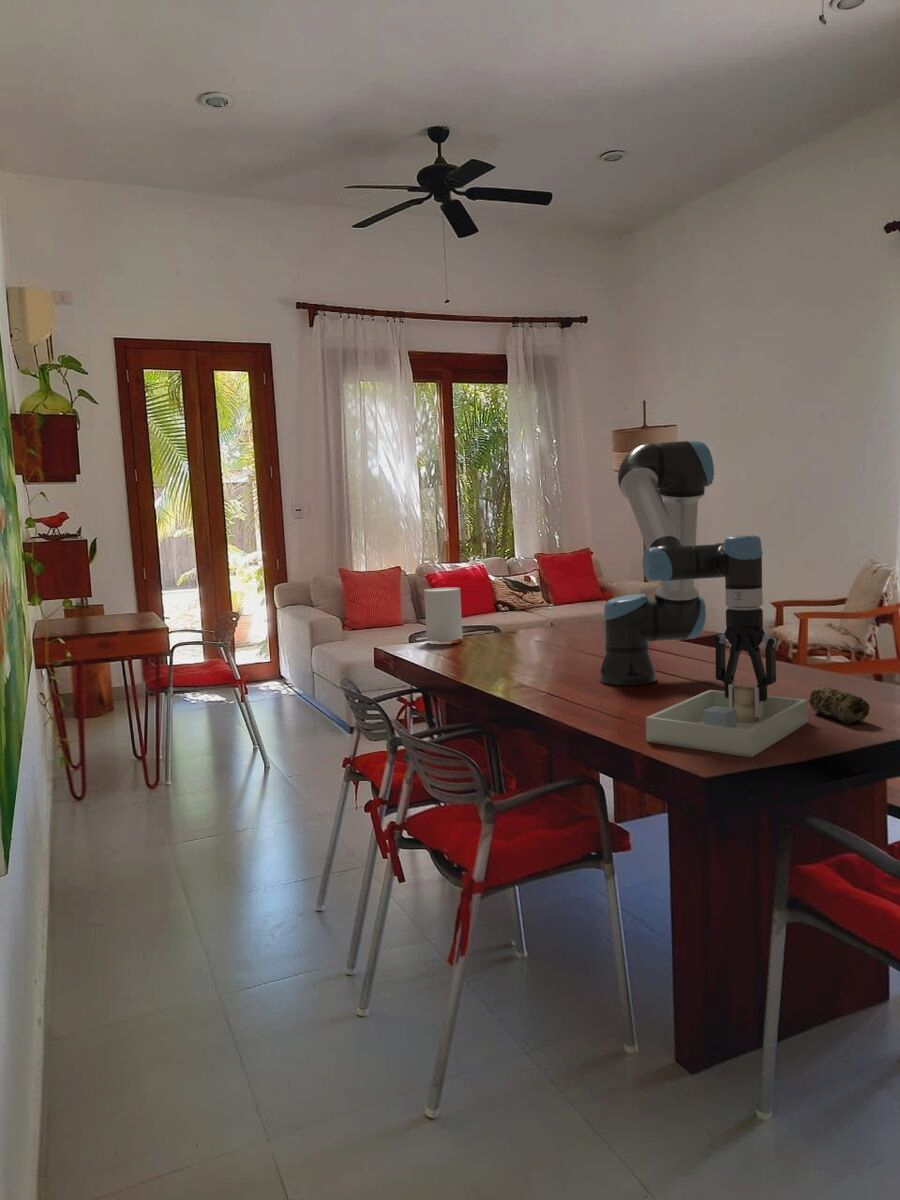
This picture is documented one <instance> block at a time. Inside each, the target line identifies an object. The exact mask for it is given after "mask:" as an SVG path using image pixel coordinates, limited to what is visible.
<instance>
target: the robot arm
mask: <svg viewBox="0 0 900 1200" xmlns="http://www.w3.org/2000/svg"><path fill="white" fill-rule="evenodd" d="M714 469H715V467H714V461H713V456H712V453H711V451H710V449H709V447H708V445H706V444H705V443H704V442H702V441H695V440H694V441H693V440H683V441H669V442H668V441H667V442H656V443H655V442H654V443H653V442H647V443H644V444H640V445H638V446H636V447H635V448H633V449H632V450H630V452H628V454H627V455H626V456H624V457H623V460H622V462H621V463H620V466H619V469H618V473H617V474H618V475H617V483H618V487H619V489H620V492H621V494H622V495H623V497H624V498H626V499H628V501H629V505H630V507H631V509H632V512H633V515H634V517H635V520H636V522H637V525H638V528H639V531H640V533H641V536H642V539H643V542H644V545H645V546H646V549H645V550H644V552H643V554H642V567H643V574H644V577H645V579H647V580H648V581H652V582H653V581H656V582H657V581H658V582H660V585H659V586H658V587H657V588H656V589H655V591H654V598H648V596H647V595H646V594H644V593H638V594H628V595H627V594H626V595H622V596H621V595H620V596H617V597H614V598H610V599H608V600H607V601H606V602H605V604H604V606H603V607H604V609H603V610H604V611H603V620H604V623H603V624H604V647H605V651H604V652H605V653H604V657H603V660H602V664H601V668H600V670H599V680H600V682H601V683H602V684H606V685H610V686H611V685H613V686H641V685H647V684H652V683H655V682H656V680H657V675H656V673H657V672H656V669H655V667H654V663H653V660H652V658H651V656H650V651H649V642H661V641H663V642H666V641H686V640H690V639H695V638H697V637H699V636H700V634H701V635H702V632H703V630H704V627H705V623H706V619H707V618H706V617H707V611H706V608H707V607H706V602H705V600H704V598H703V597H702V596H700V591H698V590H697V588H695V586H694V583H695V582H694V581H695V580H699V579H701V580H703V579H719V578H724V580H725V581H724V582H725V583H724V584H725V586H724V587H725V606H726V607H727V608H726V610H725V626H726V628H725V631H724V633H722V634H721V633H719V634H716V635H713V636H712V640H713V643H714V646H715V679H716V680H717V681H720V682H722V683H724V691H725V697H726V698H729V708H734V690H733V688H734V687H738V682H735V676H736V675H735V674H736V671H737V667H738V664H739V663H738V662H739V660H740V655H741V654H742V652H743V651H745V652H747V653H748V656H749V657H750V660H751V664H752V667H753V668H752V669H753V672H754V676H755V678H756V683H757V684H756V686H753V687H754V690H755V717H760V716H762V715H763V702H764V701H766V700H767V696H768V686H770V685H772V684H775V683H776V682H777V664H776V660H777V659H776V658H777V657H776V647H777V644H778V642H779V639H778V637H776V636H775V637H771V636H770V635H769V636H768V635H766V633H765V630H764V612H763V611H764V610H763V609H762V608H761V607H762V606H763V603H764V602H763V600H764V599H763V550H762V549H763V548H762V547H763V546H762V539H761V537H760V536H759V535H754V534H753V535H732V536H727V537H726V538H725V539H724V542H722V543H721V542H719V543H715V544H700V545H699V544H698V545H697V528H698V527H697V524H698V510H699V509H698V508H699V507H698V506H699V501H700V499H701V498H703V496H705V489H706V488H705V487H709V486H711V485H712V484H713V481H714V478H715V470H714ZM726 642H728V643H729V644H730V648H729V649H730V650H729V657H728V660H727V665H726ZM762 642H763V644H764V647H765V648H764V650H765V651H764V653H765V654H764V655H765V666H764V663H763V659H762V656H761V649H760V648H761V647H760V645H761V643H762Z"/></svg>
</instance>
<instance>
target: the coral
mask: <svg viewBox="0 0 900 1200" xmlns="http://www.w3.org/2000/svg"><path fill="white" fill-rule="evenodd" d="M807 702H808V703H809V706H810V707H811V709H812V710H813V711H814V712H816V713H818V714H822V715H825V716H826V717H829V718H831V719H835V720H838V721H840V722H843V723H845V724H848V725H850V723H851V724H853V723H852V722H854V723H856V724H857V723H859V722H861V721H863V720H865V719H866V718H867V717H868V716H869V714H870V709H871V706H870V704H869V703H868V702H867V700H864V698H863V697H860V696H857V695H855V694H851V693H849V692H844V691H842V690H838V689H836V688H832V687H828V686H827V687H825V686H824V687H822V688H818V690H817V689H813V690H811V692H810V693H809V700H808V699H807Z"/></svg>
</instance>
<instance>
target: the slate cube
mask: <svg viewBox="0 0 900 1200" xmlns="http://www.w3.org/2000/svg"><path fill="white" fill-rule="evenodd" d="M703 724H709V725H717V726H724V727H732V728H737V709H736V708H727V707H719V706H712V707H710V708H708V709H706V710H704V711H703Z"/></svg>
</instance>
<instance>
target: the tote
mask: <svg viewBox="0 0 900 1200" xmlns="http://www.w3.org/2000/svg"><path fill="white" fill-rule="evenodd" d="M712 706H719V707H727V708H729V698H726V697H725V690H715V689H708V690H705V691H704V692H701V693H699V694H697V695H695V696H692V697H690V698H687V699H685V700H682V701H681V702H678V703H675V704H673V705H671V706H669V707H667V708H664V709H662V710H659V711H658V712H655V713H653V714H651V715H648V716H646V717H645V729H646V731H645V735H646V736H645V737H646V738H645V739H646V742H649V743H654V744H661V745H668V746H675V747H682V748H686V749H693V750H694V749H695V750H699V751H708V752H715V753H719V754H727V755H734V756H741V757H747V758H753V757H754V756H756V755H758V754H759V753H761V752H763V751H765V750H767V748H769V747H771V746H773V745H774V744H776V743H777V742H779V741H780V740H783V738H785V737H787V736H788V735H790V734H791V733H794V732H795V731H797V730H799V729H800V728H801V727H803V726H804V725H806V724H808V721H809V719H808V699H805V698H804V699H802V698H793V697H792V698H791V697H783V696H774V695H773V696H772V695H767V700H766V701H764V702H763V715H762V716H760V717H758V722H754V723H741V722H737V728H732V727H724V726H717V725H709V724H703V711H704V710H706V709H708V708H710V707H712Z"/></svg>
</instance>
